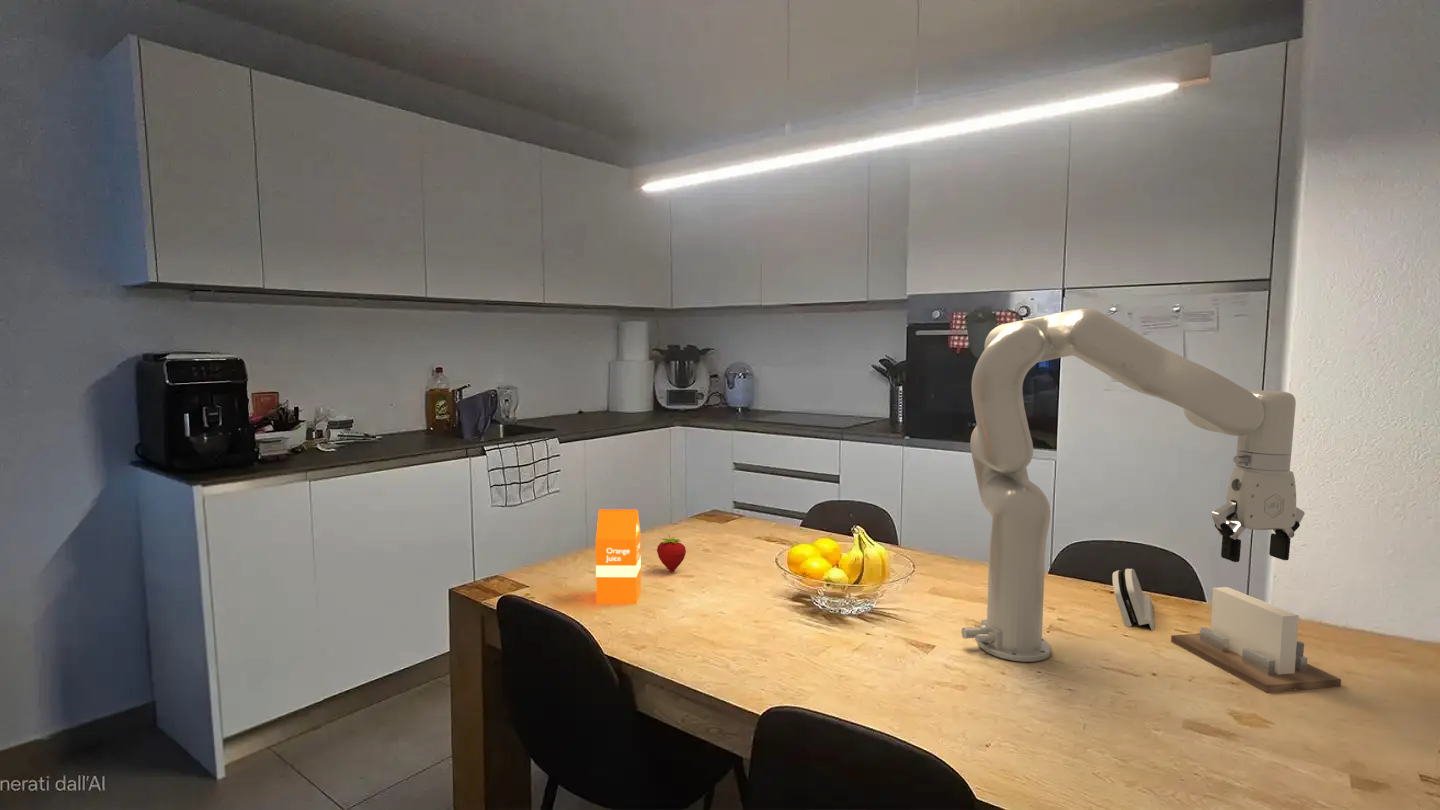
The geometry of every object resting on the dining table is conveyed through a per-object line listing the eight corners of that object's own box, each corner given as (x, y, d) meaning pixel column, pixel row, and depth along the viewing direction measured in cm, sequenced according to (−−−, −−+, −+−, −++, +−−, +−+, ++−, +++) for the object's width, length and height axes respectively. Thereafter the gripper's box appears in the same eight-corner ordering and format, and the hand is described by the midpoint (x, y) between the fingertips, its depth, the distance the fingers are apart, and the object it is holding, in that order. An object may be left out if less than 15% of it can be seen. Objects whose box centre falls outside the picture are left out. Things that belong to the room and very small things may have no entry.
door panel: (1278, 674, 119) (1282, 616, 119) (1210, 640, 133) (1213, 587, 132) (1294, 673, 120) (1298, 615, 119) (1224, 639, 134) (1227, 586, 133)
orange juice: (636, 604, 155) (635, 513, 154) (596, 604, 156) (594, 513, 154) (641, 591, 163) (640, 505, 162) (602, 591, 163) (601, 505, 162)
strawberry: (679, 577, 173) (679, 537, 172) (652, 573, 176) (651, 533, 175) (690, 570, 178) (690, 531, 177) (664, 566, 181) (663, 527, 181)
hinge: (1154, 631, 140) (1136, 581, 141) (1127, 634, 143) (1110, 585, 144) (1152, 604, 155) (1136, 559, 156) (1128, 607, 157) (1113, 563, 158)
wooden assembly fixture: (1266, 692, 116) (1268, 661, 115) (1171, 641, 135) (1172, 614, 135) (1340, 686, 118) (1343, 655, 117) (1236, 636, 138) (1237, 610, 137)
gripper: (1237, 466, 119) (1229, 567, 120) (1327, 465, 121) (1318, 564, 123) (1200, 459, 126) (1193, 554, 127) (1286, 458, 129) (1277, 551, 130)
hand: (1254, 558), depth 125 cm, fingers open, 9 cm apart
